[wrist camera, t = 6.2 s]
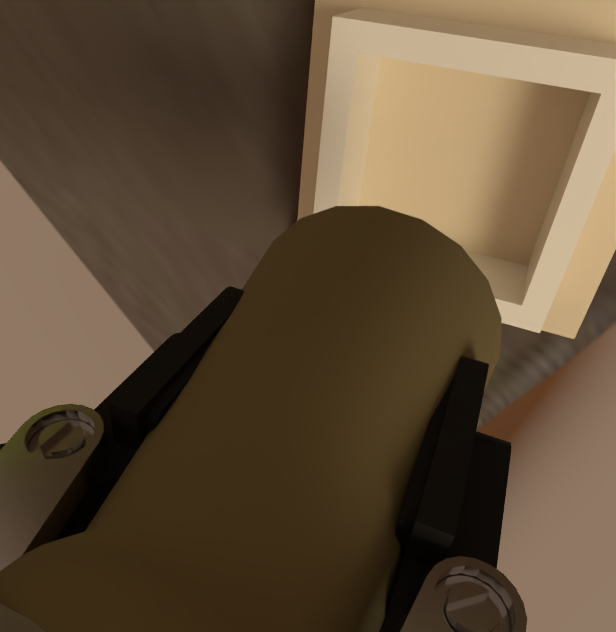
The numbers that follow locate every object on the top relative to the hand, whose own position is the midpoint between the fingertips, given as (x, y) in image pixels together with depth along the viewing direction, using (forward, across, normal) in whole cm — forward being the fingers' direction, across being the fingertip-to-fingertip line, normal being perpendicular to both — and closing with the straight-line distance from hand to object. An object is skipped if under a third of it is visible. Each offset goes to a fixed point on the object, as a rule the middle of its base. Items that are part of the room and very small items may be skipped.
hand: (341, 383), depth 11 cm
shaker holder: (+16, 0, 0) cm, 16 cm away
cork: (+2, 0, 0) cm, 2 cm away
